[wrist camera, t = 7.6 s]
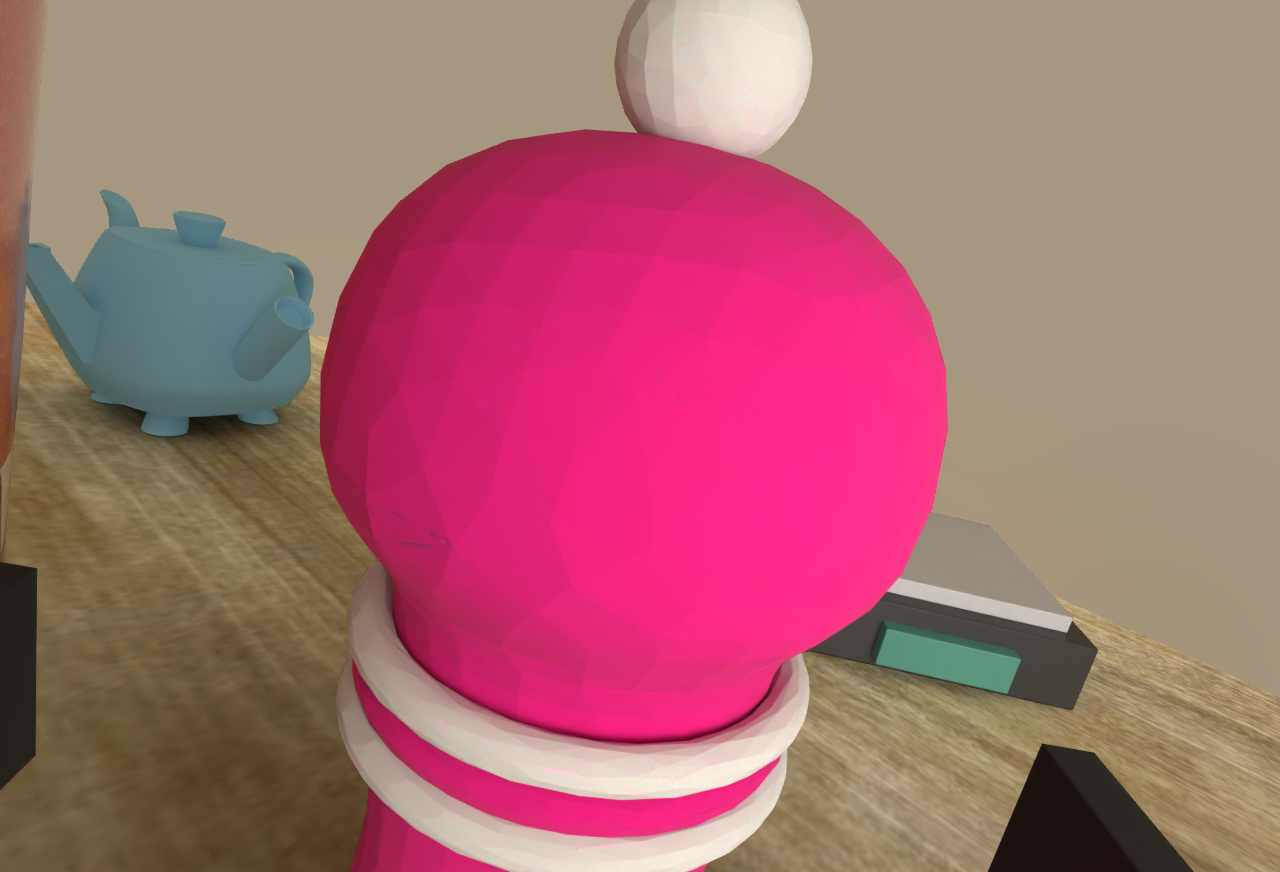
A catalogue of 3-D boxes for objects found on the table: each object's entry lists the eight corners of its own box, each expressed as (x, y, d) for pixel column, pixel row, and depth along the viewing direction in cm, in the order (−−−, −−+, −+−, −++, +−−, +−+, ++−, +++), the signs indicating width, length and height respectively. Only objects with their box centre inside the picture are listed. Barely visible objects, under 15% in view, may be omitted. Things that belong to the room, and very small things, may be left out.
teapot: (-37, 421, 41) (-39, 186, 38) (98, 358, 54) (105, 179, 50) (290, 471, 44) (313, 257, 40) (343, 400, 57) (364, 233, 53)
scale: (1081, 721, 37) (1115, 643, 36) (794, 656, 37) (819, 576, 35) (978, 582, 50) (1000, 522, 49) (767, 534, 50) (785, 473, 49)
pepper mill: (24, 1489, 11) (44, -287, 5) (398, 1044, 17) (586, 21, 12) (456, 2049, 8) (1386, -305, 3) (710, 1280, 15) (1145, 105, 9)
